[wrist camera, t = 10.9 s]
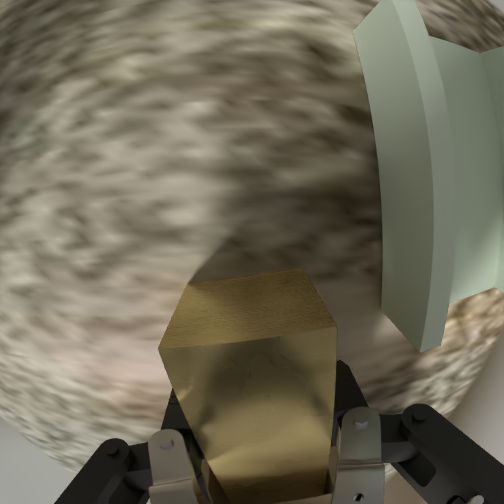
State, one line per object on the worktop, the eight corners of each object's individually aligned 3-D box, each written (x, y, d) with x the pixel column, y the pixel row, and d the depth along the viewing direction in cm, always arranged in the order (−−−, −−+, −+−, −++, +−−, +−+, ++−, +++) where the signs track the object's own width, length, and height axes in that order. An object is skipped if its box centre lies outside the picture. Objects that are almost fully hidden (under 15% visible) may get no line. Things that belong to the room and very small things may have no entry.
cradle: (380, 309, 11) (419, 352, 8) (352, 31, 8) (389, -8, 5) (492, 277, 11) (533, 300, 8) (479, 61, 8) (522, 49, 5)
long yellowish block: (251, 489, 16) (253, 535, 12) (187, 282, 11) (157, 348, 7) (309, 482, 16) (317, 527, 12) (302, 267, 11) (336, 326, 7)
